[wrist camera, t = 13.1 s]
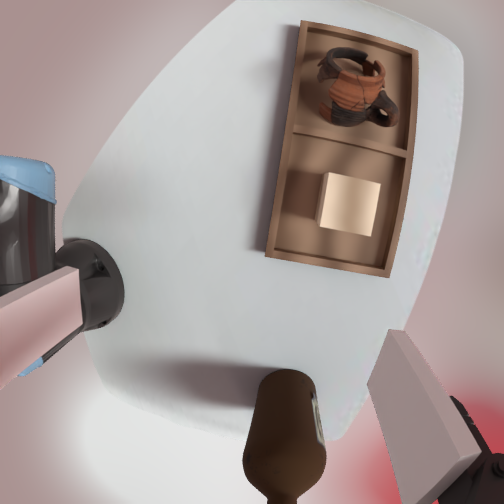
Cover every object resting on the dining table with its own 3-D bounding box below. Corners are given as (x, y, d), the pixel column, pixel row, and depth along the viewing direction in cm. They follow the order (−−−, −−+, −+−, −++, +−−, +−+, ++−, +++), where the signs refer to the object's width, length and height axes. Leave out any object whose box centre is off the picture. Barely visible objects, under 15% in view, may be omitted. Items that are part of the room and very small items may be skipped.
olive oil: (256, 411, 46) (235, 533, 22) (253, 365, 44) (225, 501, 20) (316, 411, 45) (323, 534, 21) (321, 364, 43) (338, 502, 18)
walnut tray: (265, 252, 39) (264, 256, 37) (300, 27, 31) (300, 20, 29) (384, 273, 38) (389, 278, 36) (412, 56, 30) (418, 50, 28)
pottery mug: (296, 106, 34) (303, 57, 27) (333, 78, 36) (344, 35, 29) (373, 158, 32) (398, 114, 24) (402, 122, 34) (424, 83, 26)
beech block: (314, 219, 37) (319, 226, 31) (322, 174, 36) (329, 172, 30) (358, 228, 37) (370, 236, 31) (366, 183, 35) (380, 183, 29)
